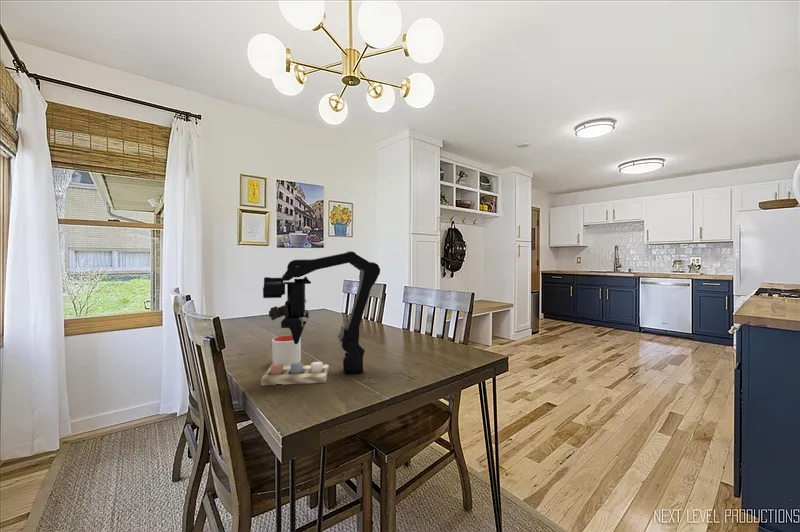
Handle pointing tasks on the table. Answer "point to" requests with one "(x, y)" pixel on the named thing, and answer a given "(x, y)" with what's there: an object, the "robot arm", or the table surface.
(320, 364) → the button cream
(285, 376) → the board
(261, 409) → the table surface
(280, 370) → the button terracotta
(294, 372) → the button slate
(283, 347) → the cup
